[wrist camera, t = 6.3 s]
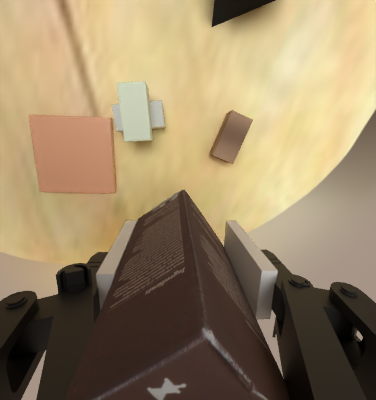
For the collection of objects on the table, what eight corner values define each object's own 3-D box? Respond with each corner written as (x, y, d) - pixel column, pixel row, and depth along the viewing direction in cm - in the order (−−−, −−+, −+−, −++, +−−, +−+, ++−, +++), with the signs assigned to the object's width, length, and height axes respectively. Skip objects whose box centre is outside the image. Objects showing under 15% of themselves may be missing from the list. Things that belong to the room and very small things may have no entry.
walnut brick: (227, 161, 31) (233, 163, 29) (209, 154, 31) (213, 155, 28) (245, 122, 30) (253, 120, 27) (226, 113, 30) (232, 110, 27)
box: (134, 220, 16) (36, 432, 4) (184, 187, 16) (224, 320, 4) (179, 276, 17) (196, 542, 6) (225, 247, 17) (341, 469, 6)
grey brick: (121, 132, 29) (116, 130, 26) (117, 108, 29) (111, 104, 26) (165, 127, 30) (164, 126, 27) (162, 104, 29) (161, 100, 26)
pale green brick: (153, 140, 27) (151, 139, 24) (129, 141, 27) (124, 141, 24) (148, 88, 25) (145, 81, 23) (122, 89, 25) (116, 82, 22)
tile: (44, 190, 30) (40, 191, 29) (33, 115, 28) (28, 114, 27) (116, 191, 31) (114, 192, 30) (111, 118, 29) (109, 118, 28)
